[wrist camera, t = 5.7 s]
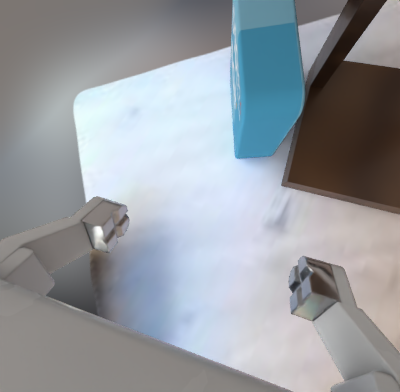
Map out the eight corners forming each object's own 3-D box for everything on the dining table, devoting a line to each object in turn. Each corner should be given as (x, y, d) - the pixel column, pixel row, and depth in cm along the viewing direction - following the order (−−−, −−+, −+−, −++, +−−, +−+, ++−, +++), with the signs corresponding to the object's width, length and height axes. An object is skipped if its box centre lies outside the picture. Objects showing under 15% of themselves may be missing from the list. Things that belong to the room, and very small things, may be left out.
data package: (229, 79, 28) (233, -26, 16) (263, 75, 28) (291, -36, 16) (235, 162, 26) (243, 112, 15) (270, 159, 26) (309, 105, 14)
